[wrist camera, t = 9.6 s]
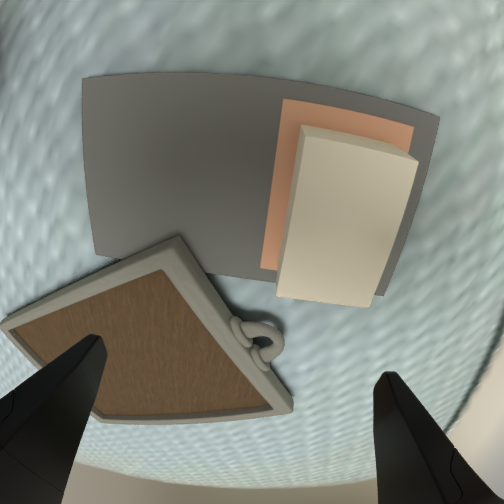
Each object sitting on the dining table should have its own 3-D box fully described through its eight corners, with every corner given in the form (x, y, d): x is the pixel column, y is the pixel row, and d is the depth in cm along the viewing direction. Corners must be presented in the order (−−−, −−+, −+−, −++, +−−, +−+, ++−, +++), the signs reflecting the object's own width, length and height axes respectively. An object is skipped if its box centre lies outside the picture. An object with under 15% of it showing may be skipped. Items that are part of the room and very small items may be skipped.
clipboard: (-3, 326, 26) (211, 230, 16) (4, 317, 27) (217, 216, 18) (100, 423, 34) (321, 408, 25) (104, 414, 35) (321, 393, 26)
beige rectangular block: (277, 259, 19) (275, 296, 16) (300, 124, 14) (305, 135, 12) (357, 270, 19) (368, 307, 16) (393, 144, 14) (418, 161, 11)
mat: (87, 77, 14) (81, 78, 14) (435, 115, 14) (440, 117, 13) (99, 250, 21) (95, 255, 20) (381, 290, 20) (384, 297, 19)
